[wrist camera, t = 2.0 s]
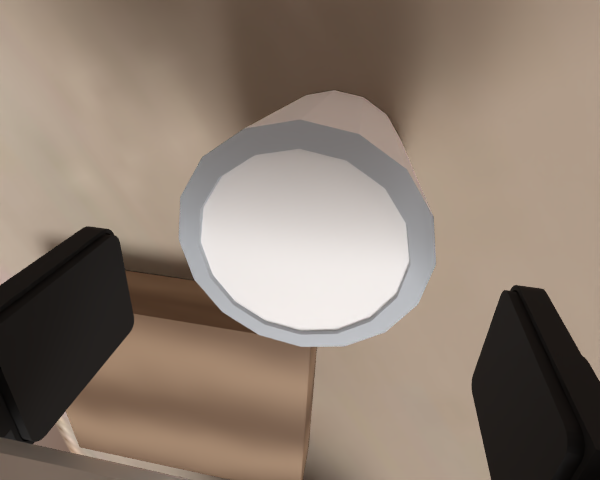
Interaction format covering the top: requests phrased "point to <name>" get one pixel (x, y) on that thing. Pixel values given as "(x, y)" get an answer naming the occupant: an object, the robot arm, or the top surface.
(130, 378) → the walnut riser
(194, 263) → the white cup
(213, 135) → the top surface
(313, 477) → the top surface
